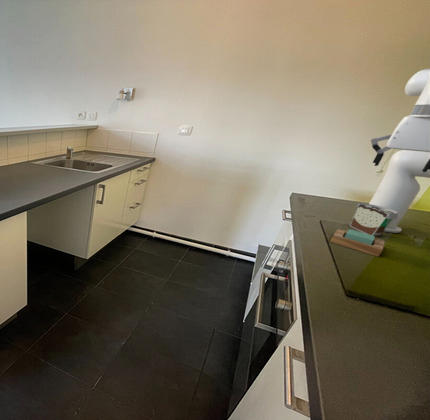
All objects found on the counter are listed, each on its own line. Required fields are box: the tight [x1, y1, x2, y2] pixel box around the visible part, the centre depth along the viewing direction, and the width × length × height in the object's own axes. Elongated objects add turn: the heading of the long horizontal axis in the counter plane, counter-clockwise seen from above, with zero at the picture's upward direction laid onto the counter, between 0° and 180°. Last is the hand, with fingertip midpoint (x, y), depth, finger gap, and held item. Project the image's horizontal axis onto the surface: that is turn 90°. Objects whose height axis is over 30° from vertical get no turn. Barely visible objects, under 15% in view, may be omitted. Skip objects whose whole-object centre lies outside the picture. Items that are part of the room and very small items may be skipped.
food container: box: [349, 202, 398, 238], centre depth 94 cm, size 12×6×10 cm, turn 168°
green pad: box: [345, 228, 376, 245], centre depth 84 cm, size 6×6×4 cm
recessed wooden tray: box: [329, 228, 385, 257], centre depth 85 cm, size 11×11×2 cm
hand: (398, 168), depth 80 cm, fingers open, 9 cm apart
